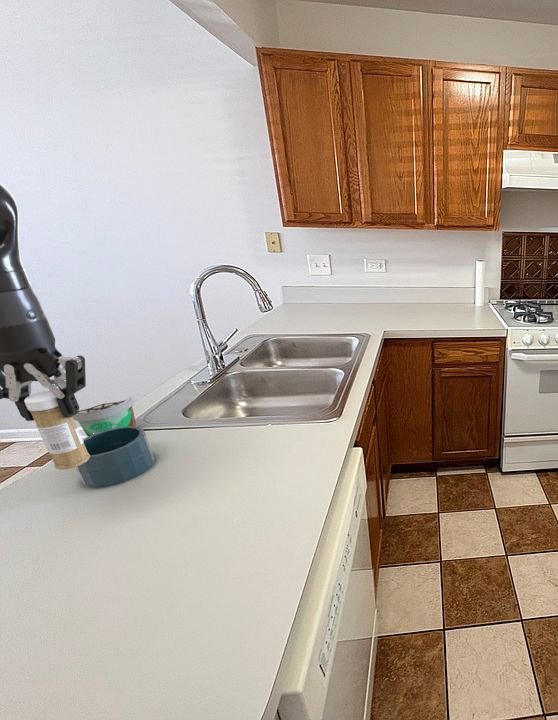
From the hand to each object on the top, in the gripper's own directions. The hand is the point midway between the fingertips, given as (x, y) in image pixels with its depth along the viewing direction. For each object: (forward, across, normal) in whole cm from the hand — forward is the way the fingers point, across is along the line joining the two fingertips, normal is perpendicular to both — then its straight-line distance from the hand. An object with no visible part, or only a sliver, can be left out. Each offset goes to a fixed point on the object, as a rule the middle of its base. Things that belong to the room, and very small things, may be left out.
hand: (52, 416), depth 66 cm
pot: (+25, +8, -20) cm, 33 cm away
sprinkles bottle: (+10, 0, 0) cm, 10 cm away
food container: (+25, +17, -35) cm, 47 cm away
